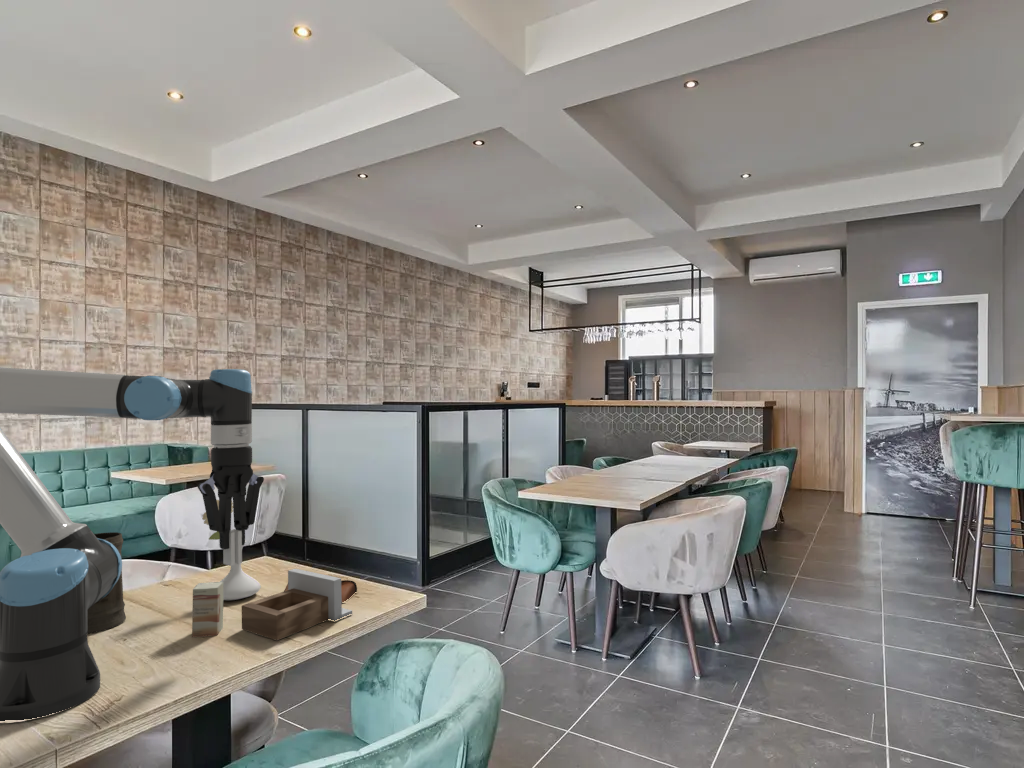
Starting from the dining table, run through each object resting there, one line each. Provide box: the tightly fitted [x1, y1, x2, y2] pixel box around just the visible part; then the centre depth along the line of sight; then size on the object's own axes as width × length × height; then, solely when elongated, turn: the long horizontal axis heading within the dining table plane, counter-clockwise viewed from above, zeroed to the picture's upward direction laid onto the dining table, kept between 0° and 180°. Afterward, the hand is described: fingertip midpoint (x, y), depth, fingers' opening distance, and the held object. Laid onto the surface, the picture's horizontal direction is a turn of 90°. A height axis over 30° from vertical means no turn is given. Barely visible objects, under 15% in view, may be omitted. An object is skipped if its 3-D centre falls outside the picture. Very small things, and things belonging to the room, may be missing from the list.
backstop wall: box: [287, 568, 353, 621], centre depth 136 cm, size 5×16×9 cm, turn 57°
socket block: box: [241, 588, 329, 641], centre depth 129 cm, size 13×12×5 cm
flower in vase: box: [202, 499, 262, 601], centre depth 148 cm, size 13×11×25 cm
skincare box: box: [191, 581, 224, 638], centre depth 125 cm, size 5×4×10 cm
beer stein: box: [87, 531, 127, 634], centre depth 133 cm, size 15×11×20 cm
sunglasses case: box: [283, 579, 358, 602], centre depth 146 cm, size 18×7×7 cm
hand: (232, 563), depth 119 cm, fingers closed
